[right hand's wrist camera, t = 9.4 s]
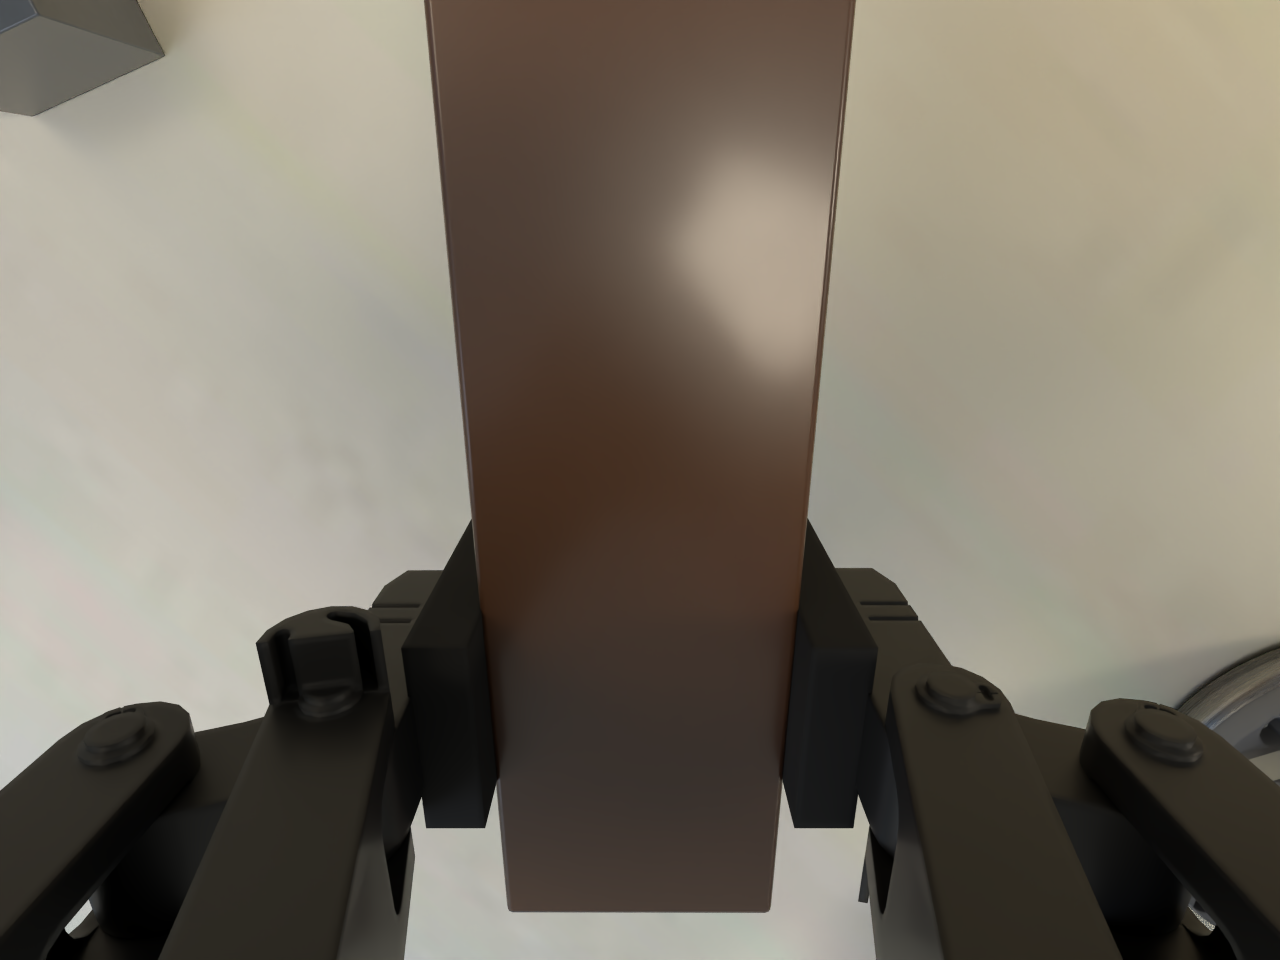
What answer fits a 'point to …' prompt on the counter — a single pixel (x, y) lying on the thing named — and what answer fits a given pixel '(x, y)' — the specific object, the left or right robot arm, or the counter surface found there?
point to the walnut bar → (639, 418)
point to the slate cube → (67, 49)
